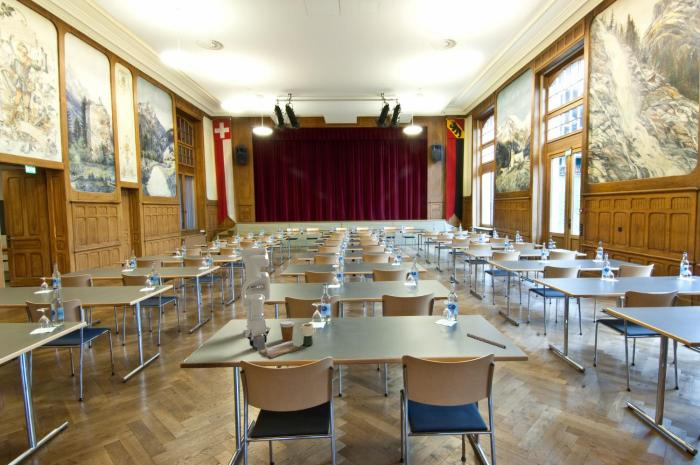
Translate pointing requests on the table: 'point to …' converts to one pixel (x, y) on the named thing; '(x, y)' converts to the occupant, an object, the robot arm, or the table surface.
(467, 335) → the metal rod
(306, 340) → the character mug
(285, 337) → the disposable coffee cup
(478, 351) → the table surface
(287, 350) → the rail board
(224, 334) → the table surface
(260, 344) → the block
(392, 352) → the table surface
